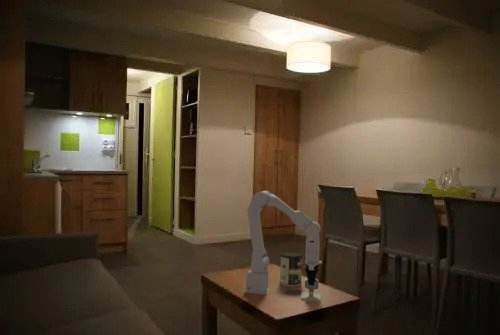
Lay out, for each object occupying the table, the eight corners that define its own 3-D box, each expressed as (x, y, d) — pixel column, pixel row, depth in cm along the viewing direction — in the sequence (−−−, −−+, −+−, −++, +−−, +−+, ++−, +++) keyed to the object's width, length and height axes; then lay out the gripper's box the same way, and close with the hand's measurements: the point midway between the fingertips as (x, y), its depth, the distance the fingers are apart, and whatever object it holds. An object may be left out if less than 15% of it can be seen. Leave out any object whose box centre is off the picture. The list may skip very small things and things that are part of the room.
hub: (300, 300, 158) (301, 291, 158) (302, 294, 165) (302, 286, 165) (320, 302, 156) (320, 293, 156) (320, 296, 164) (321, 287, 164)
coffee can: (303, 282, 183) (304, 252, 183) (298, 288, 174) (299, 257, 174) (283, 279, 187) (284, 250, 187) (276, 284, 178) (277, 254, 178)
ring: (304, 288, 159) (304, 281, 159) (305, 284, 164) (305, 277, 164) (318, 290, 157) (318, 282, 157) (318, 285, 163) (318, 278, 163)
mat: (284, 294, 165) (284, 293, 165) (286, 289, 171) (286, 288, 171) (300, 295, 163) (300, 295, 163) (301, 290, 170) (301, 290, 170)
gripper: (321, 255, 153) (320, 288, 153) (322, 247, 167) (321, 278, 167) (304, 253, 154) (303, 287, 154) (306, 246, 168) (305, 277, 168)
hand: (311, 282), depth 161 cm, fingers closed on ring, 6 cm apart
